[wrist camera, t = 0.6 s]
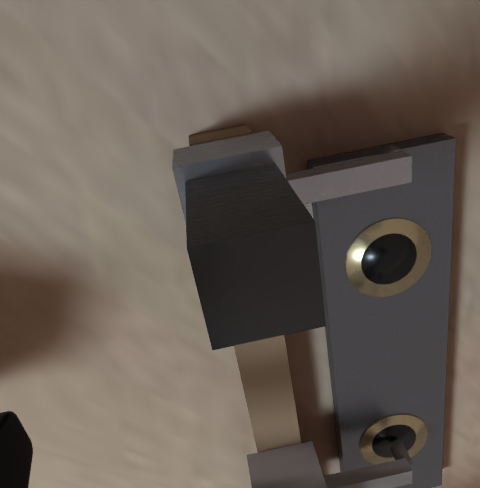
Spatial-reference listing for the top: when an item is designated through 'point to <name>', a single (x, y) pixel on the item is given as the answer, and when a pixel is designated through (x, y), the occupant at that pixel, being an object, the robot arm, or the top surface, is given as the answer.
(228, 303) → the sliding leg
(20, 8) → the top surface
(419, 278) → the hole plate
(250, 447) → the top surface
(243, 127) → the beam
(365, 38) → the top surface
